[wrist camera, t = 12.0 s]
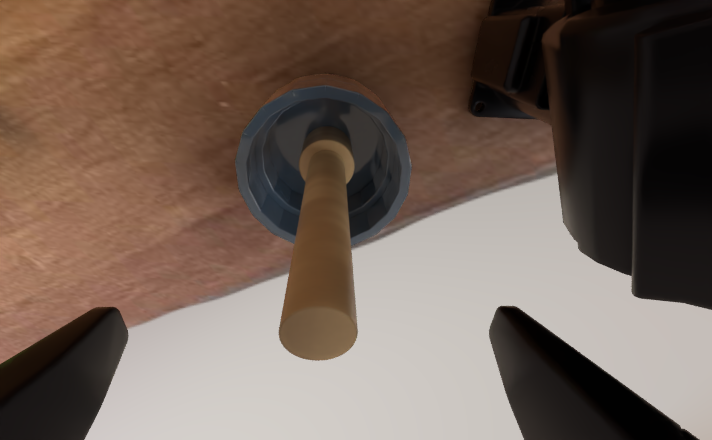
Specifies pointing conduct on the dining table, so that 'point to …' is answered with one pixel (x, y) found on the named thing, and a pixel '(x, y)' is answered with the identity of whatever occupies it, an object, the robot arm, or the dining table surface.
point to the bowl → (284, 145)
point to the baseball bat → (322, 254)
